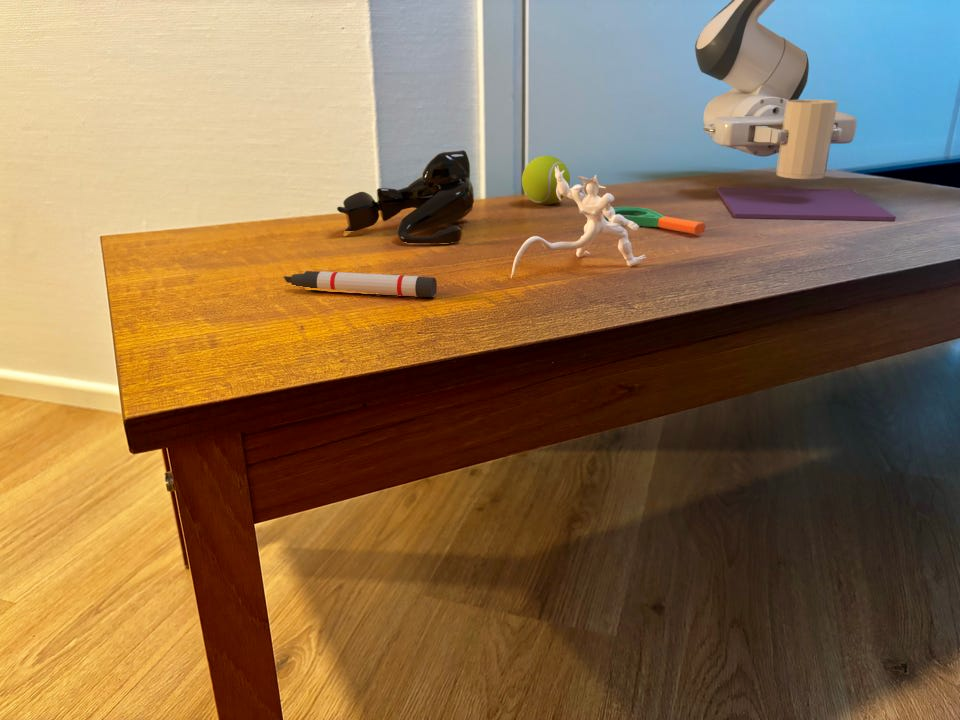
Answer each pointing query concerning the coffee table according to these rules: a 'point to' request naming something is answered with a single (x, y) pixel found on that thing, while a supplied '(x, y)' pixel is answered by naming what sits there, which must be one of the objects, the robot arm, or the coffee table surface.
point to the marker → (367, 283)
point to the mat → (801, 204)
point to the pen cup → (806, 138)
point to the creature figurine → (589, 221)
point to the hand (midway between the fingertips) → (810, 136)
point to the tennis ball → (543, 179)
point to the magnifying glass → (658, 220)
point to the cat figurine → (420, 201)
